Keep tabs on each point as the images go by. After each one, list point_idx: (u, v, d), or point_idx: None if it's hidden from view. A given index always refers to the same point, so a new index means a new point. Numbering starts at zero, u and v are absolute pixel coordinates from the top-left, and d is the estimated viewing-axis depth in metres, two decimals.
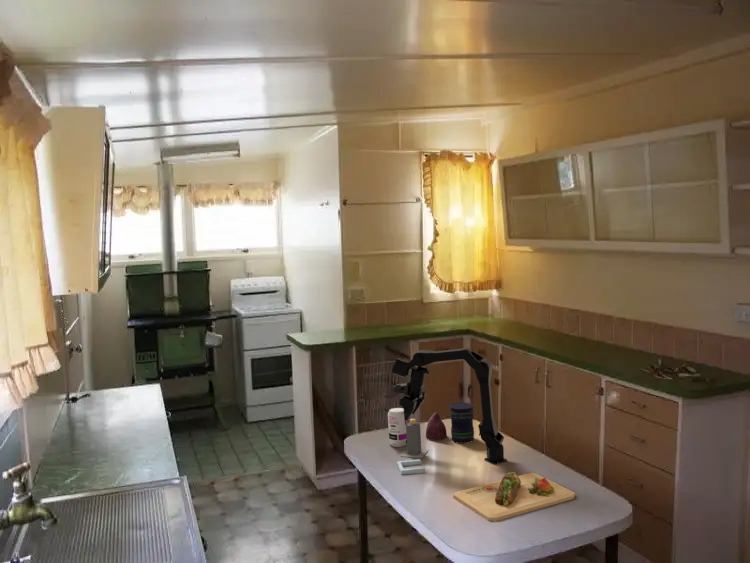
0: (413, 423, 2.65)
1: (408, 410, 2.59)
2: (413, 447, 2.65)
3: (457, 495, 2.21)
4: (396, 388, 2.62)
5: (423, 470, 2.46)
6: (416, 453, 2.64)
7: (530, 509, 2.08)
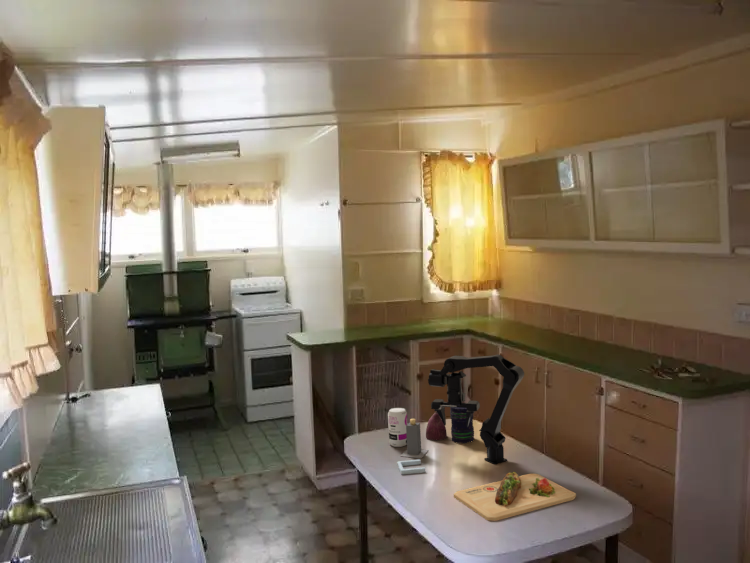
0: (413, 423, 2.65)
1: None
2: (413, 447, 2.65)
3: (457, 495, 2.21)
4: None
5: (423, 470, 2.46)
6: (416, 453, 2.64)
7: (529, 509, 2.08)
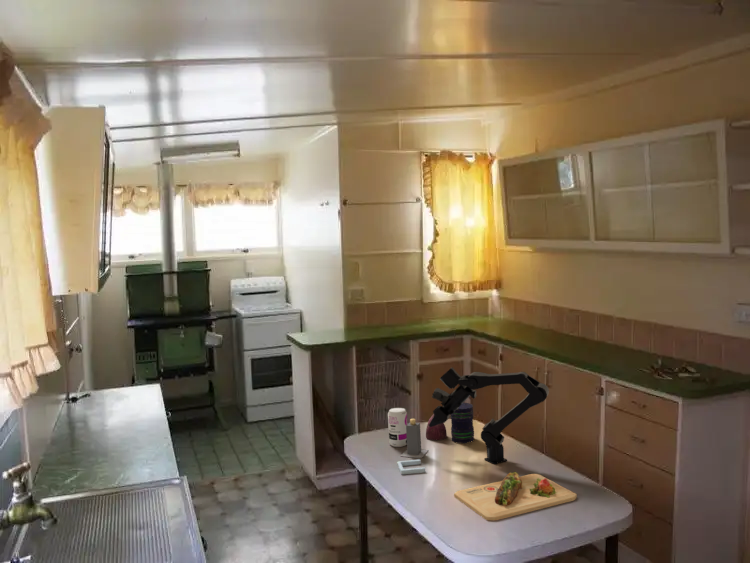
0: (413, 423, 2.65)
1: (437, 420, 2.56)
2: (413, 447, 2.65)
3: (458, 494, 2.21)
4: (436, 394, 2.57)
5: (423, 470, 2.46)
6: (416, 453, 2.64)
7: (529, 509, 2.08)
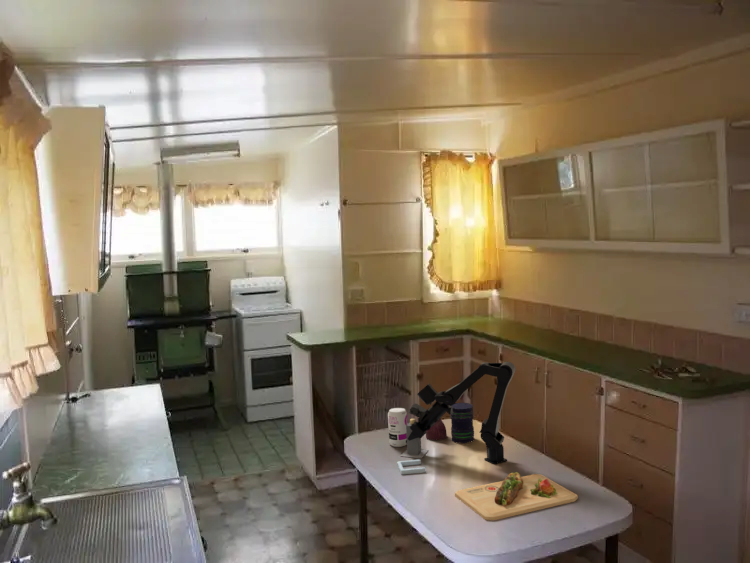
0: None
1: (416, 434, 2.62)
2: (413, 447, 2.65)
3: (458, 494, 2.22)
4: (413, 410, 2.61)
5: (423, 470, 2.46)
6: (416, 453, 2.64)
7: (529, 509, 2.08)
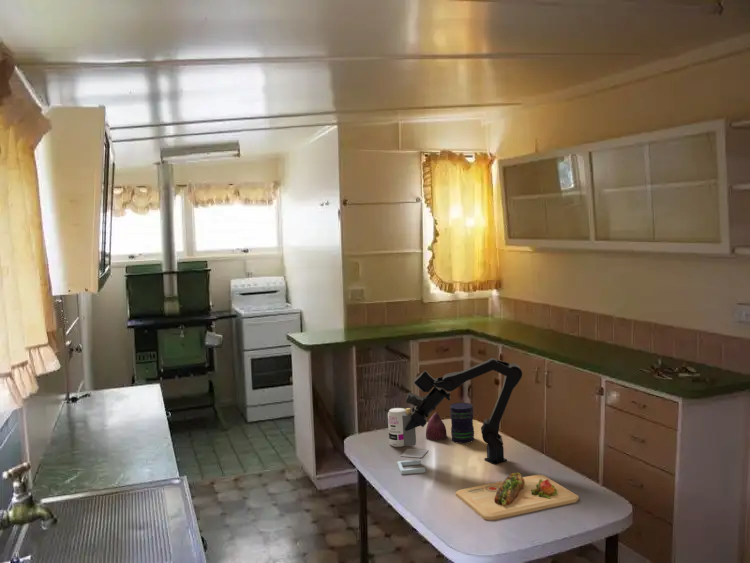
0: (409, 412, 2.56)
1: (414, 423, 2.53)
2: (410, 437, 2.56)
3: (459, 493, 2.22)
4: (412, 399, 2.52)
5: (423, 470, 2.46)
6: (413, 443, 2.56)
7: (528, 510, 2.08)
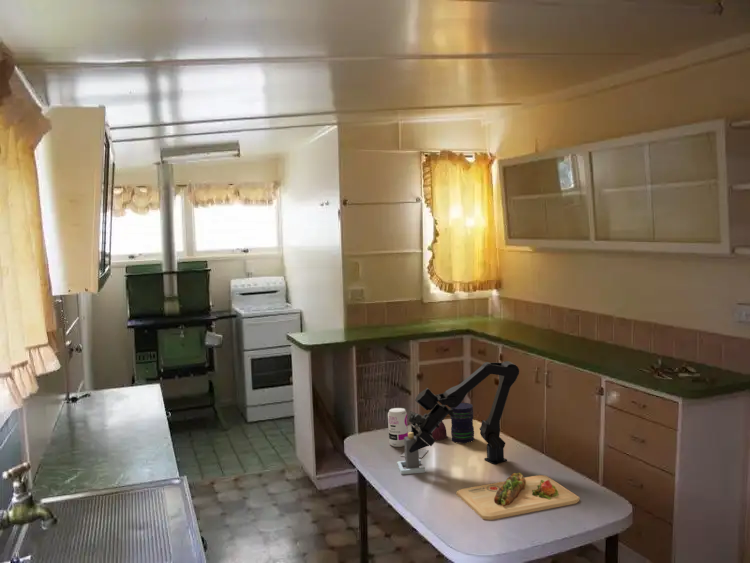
0: (412, 437, 2.49)
1: (419, 444, 2.45)
2: (414, 462, 2.48)
3: (460, 492, 2.23)
4: (417, 418, 2.45)
5: (423, 470, 2.46)
6: None
7: (527, 510, 2.07)
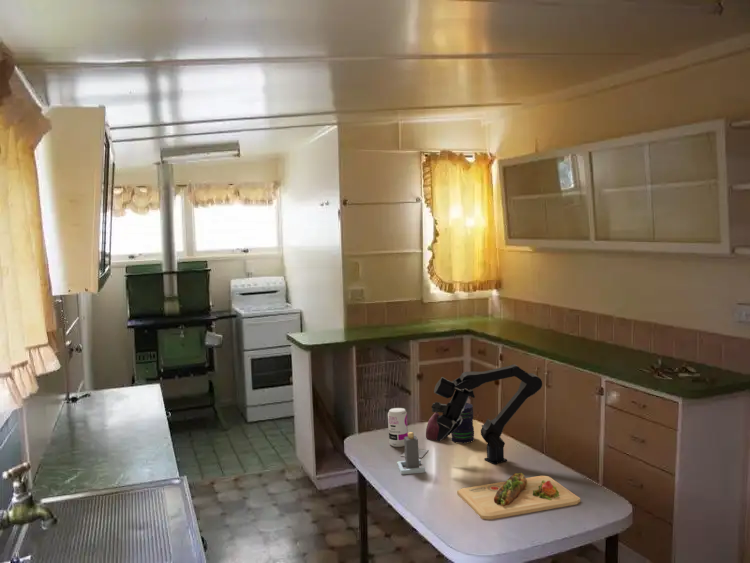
0: (412, 437, 2.49)
1: (443, 430, 2.47)
2: (414, 462, 2.48)
3: (460, 492, 2.23)
4: (435, 405, 2.50)
5: (423, 470, 2.46)
6: None
7: (527, 510, 2.07)
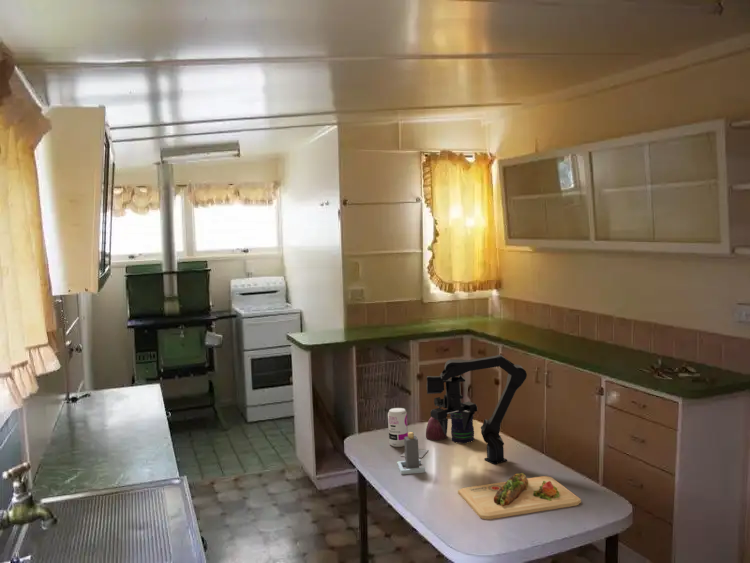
0: (412, 437, 2.49)
1: (443, 423, 2.51)
2: (414, 462, 2.48)
3: (461, 491, 2.24)
4: (435, 401, 2.57)
5: (423, 470, 2.46)
6: None
7: (526, 511, 2.07)
